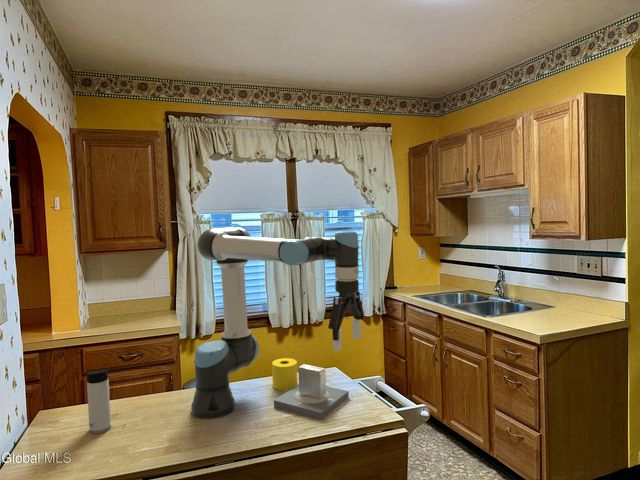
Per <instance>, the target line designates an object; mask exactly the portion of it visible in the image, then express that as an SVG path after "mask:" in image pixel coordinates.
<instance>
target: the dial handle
mask: <svg viewBox="0 0 640 480" xmlns="http://www.w3.org/2000/svg"><path fill="white" fill-rule="evenodd" d="M326 371H327V370H326V369H325V368H324V367H320V366H316V365H310V364H307V363H306V364H305V363H303V364H301V365H300V366H298V385H299V394H303V395H307V396H311V397H315V398H319V399H320V398H321V397H323V396H324V395H325V394H326V386H327V385H326V383H327V379H326V378H327V376H326V375H327V374H326Z"/></svg>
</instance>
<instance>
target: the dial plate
mask: <svg viewBox="0 0 640 480" xmlns="http://www.w3.org/2000/svg"><path fill="white" fill-rule="evenodd" d="M349 393H350V391H349V390H346V389H341V388H337V387H332V386H328V385H326V394H325V395H324V396H323V397H321V398H320V399H319V398H315V397H311V396H307V395H303V394H299V384H297V386H295V387H294V388H292V389H290V390H287V391H286V392H284V393H283V394H281V395H280V396H278V397H276V398H275V399H273V407H274V408H276V409H280V410H285V411H288V412H292V413H295V414H298V415H303V416H306V417H309V418H313V419H316V420H320V421H321V420H323V419H325V418H326V417H327V416H328V415H329V414H330V413H332V412H333V411H334V410H335V409H337V408H338V407H339V406H340V405H341V404H343V403H344V402H345V401H347V400H348V399H349V398H350V397H349Z"/></svg>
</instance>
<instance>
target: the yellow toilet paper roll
mask: <svg viewBox="0 0 640 480" xmlns="http://www.w3.org/2000/svg"><path fill="white" fill-rule="evenodd" d="M271 364H272V365H271V372H272V373H271V374H272V388H273V389H275V390H279V391H289V389H290V390H291V389H292V388H294V387H295V386H297V385H298V361H297V360H295V359H294V358H288V357H287V358H286V357H284V358H277V359H275V360H272V362H271Z"/></svg>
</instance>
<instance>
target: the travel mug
mask: <svg viewBox="0 0 640 480" xmlns="http://www.w3.org/2000/svg"><path fill="white" fill-rule="evenodd" d="M109 383H110V382H109V369H107V368H105V369H104V368H103V369H97V370H90V371H88V372H87V373H86V390H87V391H86V392H87V407H88V409H87V410H88V425H89V430H88V431H89V432H90V433H91V434H93V435H96V434H97V435H98V434H102V433H105V432H108V431H109V430H110V429H111V426H112V423H111V421H112V420H111V402H110V384H109Z"/></svg>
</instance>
